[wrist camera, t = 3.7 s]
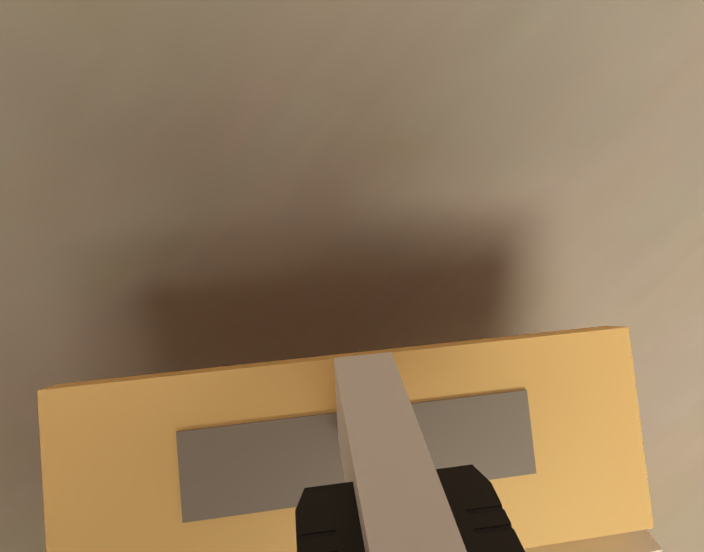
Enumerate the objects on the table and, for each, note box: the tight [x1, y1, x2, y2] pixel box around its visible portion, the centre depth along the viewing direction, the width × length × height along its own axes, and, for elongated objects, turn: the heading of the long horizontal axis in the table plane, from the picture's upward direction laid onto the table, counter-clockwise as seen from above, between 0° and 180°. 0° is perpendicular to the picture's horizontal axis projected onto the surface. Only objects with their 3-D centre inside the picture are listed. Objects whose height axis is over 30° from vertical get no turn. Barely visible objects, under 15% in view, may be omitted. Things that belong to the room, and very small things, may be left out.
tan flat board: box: [37, 326, 654, 552], centre depth 15 cm, size 17×6×1 cm, turn 92°
